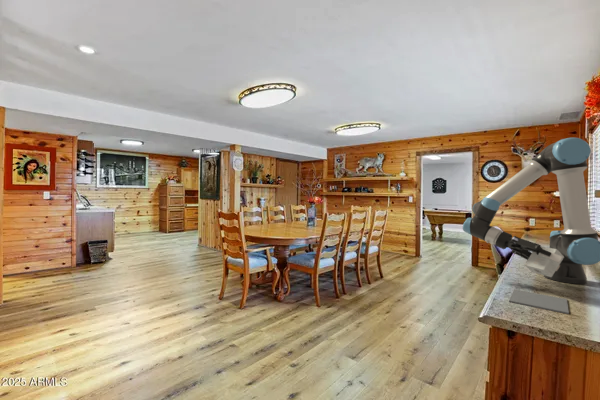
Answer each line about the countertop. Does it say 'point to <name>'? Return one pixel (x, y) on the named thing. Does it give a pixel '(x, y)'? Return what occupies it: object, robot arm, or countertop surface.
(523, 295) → the slate mat
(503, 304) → the countertop surface
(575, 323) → the countertop surface
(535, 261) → the small box
